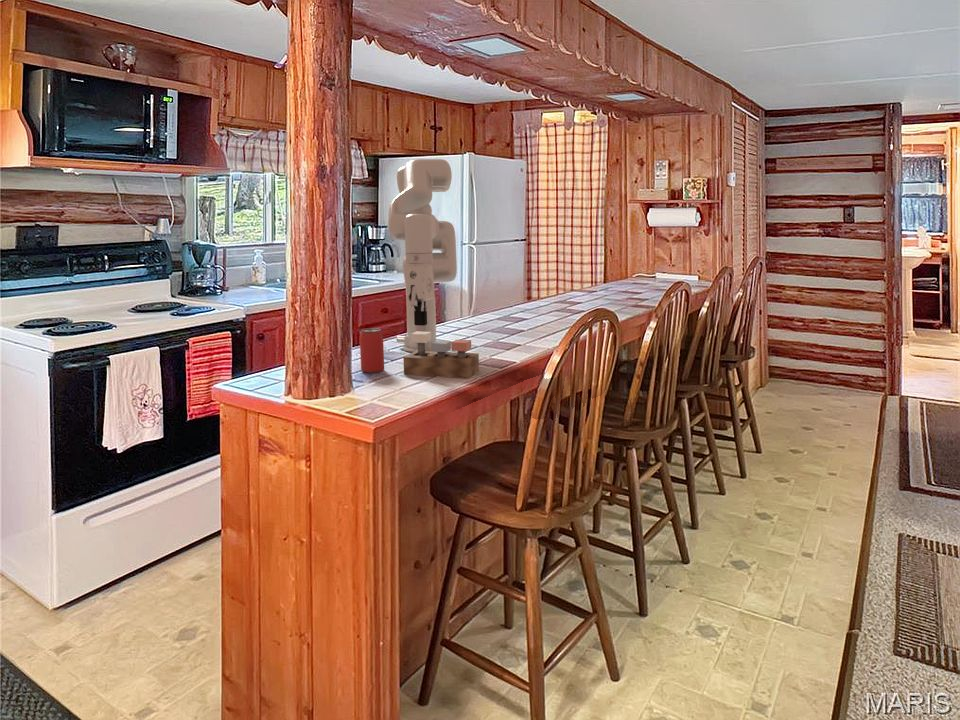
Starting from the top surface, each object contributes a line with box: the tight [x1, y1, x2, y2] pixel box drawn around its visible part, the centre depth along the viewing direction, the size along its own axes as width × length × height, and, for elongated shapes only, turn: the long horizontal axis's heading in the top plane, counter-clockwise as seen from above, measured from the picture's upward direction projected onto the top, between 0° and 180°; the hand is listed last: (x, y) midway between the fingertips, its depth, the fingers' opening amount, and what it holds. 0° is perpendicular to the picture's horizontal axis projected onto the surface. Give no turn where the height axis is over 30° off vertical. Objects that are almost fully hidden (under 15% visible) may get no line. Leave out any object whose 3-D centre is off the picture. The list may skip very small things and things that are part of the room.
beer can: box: [359, 327, 385, 374], centre depth 205 cm, size 7×7×12 cm
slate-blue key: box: [431, 339, 452, 357], centre depth 203 cm, size 4×4×7 cm
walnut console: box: [403, 350, 480, 379], centre depth 203 cm, size 19×10×5 cm, turn 73°
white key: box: [411, 331, 431, 356], centre depth 204 cm, size 4×4×7 cm
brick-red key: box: [450, 339, 472, 358], centre depth 201 cm, size 4×4×7 cm
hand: (420, 324), depth 202 cm, fingers closed
